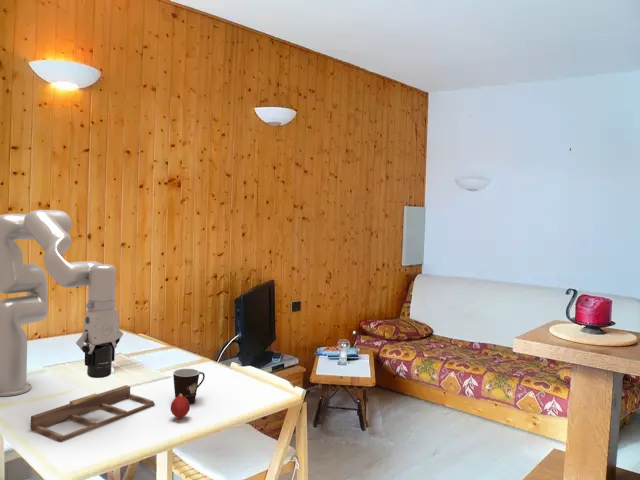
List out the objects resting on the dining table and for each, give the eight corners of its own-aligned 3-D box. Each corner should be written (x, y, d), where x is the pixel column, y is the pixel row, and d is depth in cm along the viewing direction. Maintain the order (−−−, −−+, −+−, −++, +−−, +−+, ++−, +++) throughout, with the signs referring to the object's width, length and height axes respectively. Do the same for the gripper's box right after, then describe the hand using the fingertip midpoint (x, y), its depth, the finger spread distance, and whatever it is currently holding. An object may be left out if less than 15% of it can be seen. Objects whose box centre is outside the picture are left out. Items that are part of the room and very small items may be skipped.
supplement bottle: (102, 379, 162) (104, 340, 161) (82, 377, 164) (83, 337, 163) (116, 373, 169) (117, 334, 168) (96, 370, 170) (97, 332, 169)
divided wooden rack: (30, 429, 156) (30, 414, 156) (125, 396, 186) (126, 383, 185) (60, 442, 149) (61, 425, 149) (154, 405, 179) (155, 391, 179)
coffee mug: (175, 407, 178) (176, 377, 178) (169, 398, 186) (170, 369, 185) (210, 403, 184) (211, 374, 183) (203, 394, 191) (204, 366, 191)
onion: (172, 414, 172) (173, 390, 172) (190, 415, 173) (191, 390, 172) (168, 422, 166) (169, 396, 166) (187, 422, 167) (188, 397, 166)
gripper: (84, 311, 155) (83, 372, 157) (133, 303, 171) (131, 359, 172) (67, 307, 159) (66, 367, 160) (116, 299, 174) (114, 354, 175)
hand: (99, 362), depth 166 cm, fingers closed on supplement bottle, 6 cm apart
